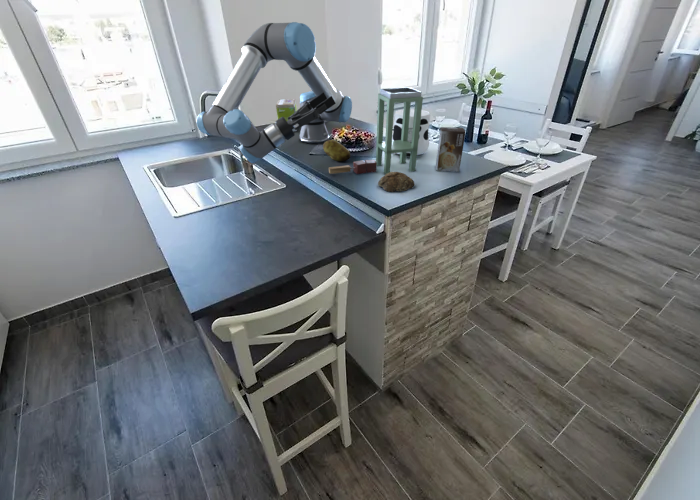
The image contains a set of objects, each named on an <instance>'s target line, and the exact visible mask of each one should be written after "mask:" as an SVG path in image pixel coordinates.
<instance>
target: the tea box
mask: <svg viewBox="0 0 700 500" xmlns="http://www.w3.org/2000/svg"><path fill="white" fill-rule="evenodd" d="M275 109H276V110H275V111H276V116H277V117H276V118H277V120H278V119H280V118H281V117H284V118H285V120H286V121H288V117H290V116H291V115H292V114H294V113H295V112H296V111H297V110H298V108H297V100H296V98H285V99H283V98H281V99H278V100H277V102H276V104H275ZM297 131H298V130H295V129H293V132H297Z"/></svg>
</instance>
